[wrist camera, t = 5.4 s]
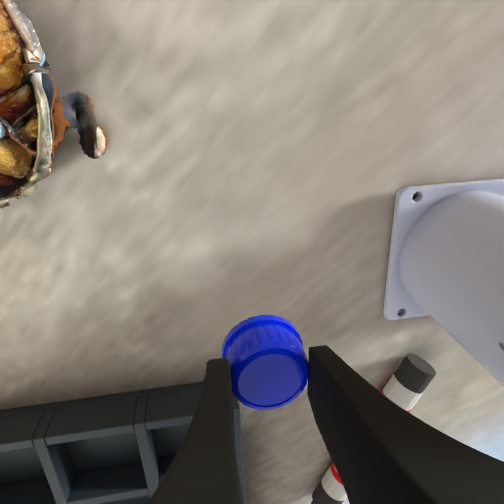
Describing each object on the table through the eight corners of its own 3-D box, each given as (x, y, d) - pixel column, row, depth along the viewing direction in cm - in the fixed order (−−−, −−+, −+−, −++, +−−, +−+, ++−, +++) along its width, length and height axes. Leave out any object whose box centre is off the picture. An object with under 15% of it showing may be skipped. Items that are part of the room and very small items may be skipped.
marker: (400, 349, 25) (417, 371, 23) (424, 357, 25) (442, 378, 24) (293, 508, 30) (300, 536, 28) (315, 512, 30) (324, 539, 28)
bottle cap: (235, 391, 15) (241, 426, 14) (210, 331, 14) (213, 362, 12) (308, 366, 15) (322, 398, 14) (290, 304, 14) (303, 331, 12)
